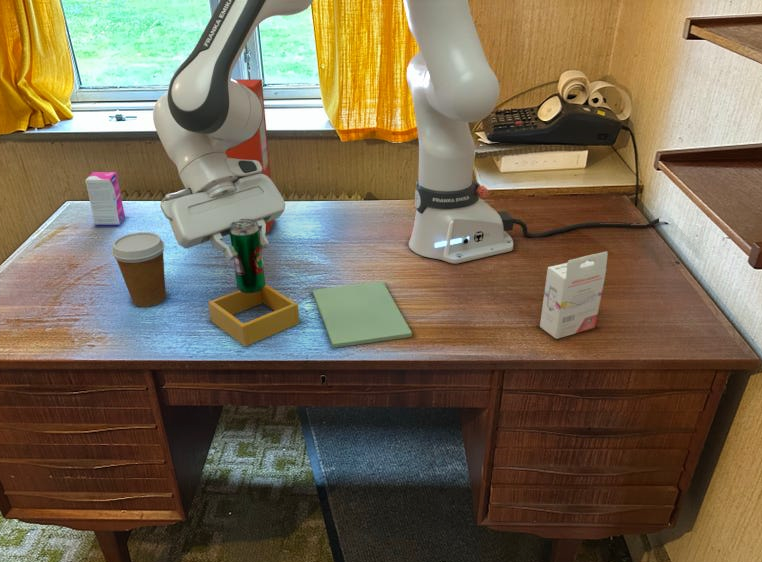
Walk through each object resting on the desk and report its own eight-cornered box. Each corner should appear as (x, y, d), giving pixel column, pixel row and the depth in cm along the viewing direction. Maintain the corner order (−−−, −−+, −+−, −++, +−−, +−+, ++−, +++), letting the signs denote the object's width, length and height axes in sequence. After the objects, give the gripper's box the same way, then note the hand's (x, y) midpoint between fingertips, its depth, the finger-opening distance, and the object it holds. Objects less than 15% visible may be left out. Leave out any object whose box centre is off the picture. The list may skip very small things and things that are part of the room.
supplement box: (119, 226, 160) (108, 179, 154) (94, 227, 161) (83, 180, 154) (126, 217, 165) (116, 171, 159) (102, 217, 165) (91, 171, 159)
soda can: (233, 284, 120) (224, 221, 113) (261, 278, 121) (253, 215, 114) (241, 297, 116) (232, 232, 109) (269, 291, 117) (262, 226, 111)
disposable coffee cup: (161, 313, 126) (149, 254, 119) (114, 309, 128) (100, 250, 121) (182, 289, 134) (171, 232, 127) (137, 285, 135) (125, 229, 128)
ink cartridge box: (577, 315, 122) (591, 240, 113) (595, 328, 118) (611, 251, 110) (537, 326, 119) (549, 249, 111) (555, 340, 115) (568, 261, 107)
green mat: (382, 284, 133) (382, 280, 133) (412, 336, 117) (412, 332, 117) (312, 293, 131) (312, 289, 130) (332, 348, 115) (332, 344, 114)
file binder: (204, 219, 163) (183, 78, 145) (274, 220, 161) (261, 78, 143) (194, 232, 156) (170, 87, 138) (267, 234, 155) (252, 87, 137)
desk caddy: (264, 300, 129) (262, 281, 127) (299, 323, 122) (298, 304, 119) (210, 321, 123) (207, 301, 121) (245, 346, 116) (242, 327, 113)
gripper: (159, 188, 107) (199, 264, 106) (266, 158, 117) (304, 227, 117) (152, 207, 112) (190, 279, 112) (255, 177, 123) (291, 243, 122)
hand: (249, 252), depth 114 cm, fingers closed on soda can, 5 cm apart
